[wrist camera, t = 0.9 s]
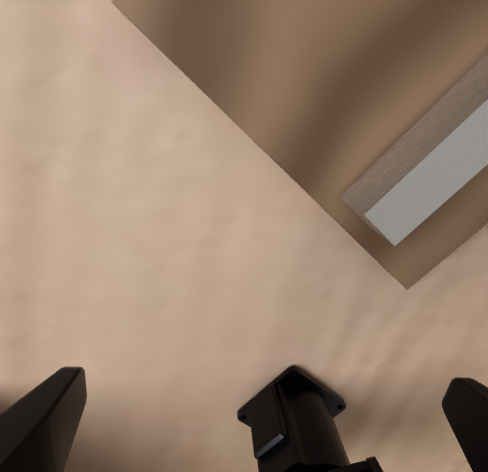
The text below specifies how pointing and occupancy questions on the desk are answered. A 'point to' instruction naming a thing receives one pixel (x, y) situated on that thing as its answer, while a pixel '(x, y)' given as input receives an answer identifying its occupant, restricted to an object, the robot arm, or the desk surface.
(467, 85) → the bar
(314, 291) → the desk surface
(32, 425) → the robot arm
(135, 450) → the desk surface
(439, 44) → the board
